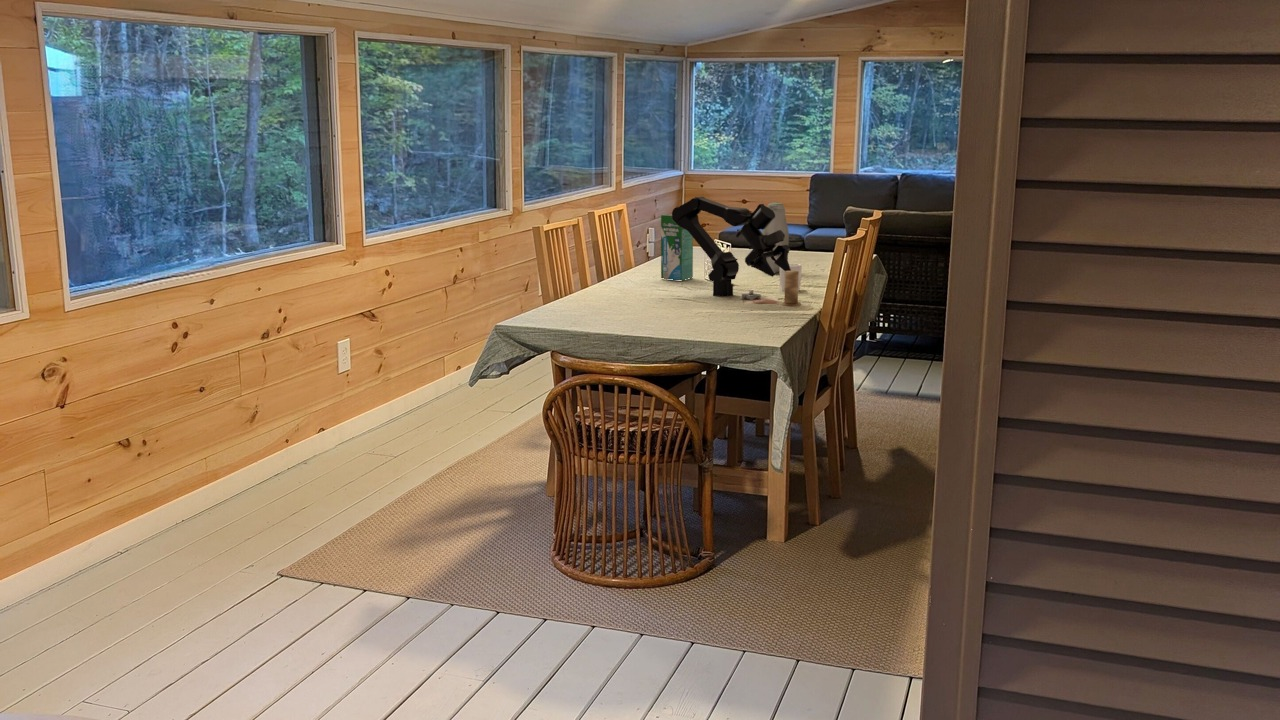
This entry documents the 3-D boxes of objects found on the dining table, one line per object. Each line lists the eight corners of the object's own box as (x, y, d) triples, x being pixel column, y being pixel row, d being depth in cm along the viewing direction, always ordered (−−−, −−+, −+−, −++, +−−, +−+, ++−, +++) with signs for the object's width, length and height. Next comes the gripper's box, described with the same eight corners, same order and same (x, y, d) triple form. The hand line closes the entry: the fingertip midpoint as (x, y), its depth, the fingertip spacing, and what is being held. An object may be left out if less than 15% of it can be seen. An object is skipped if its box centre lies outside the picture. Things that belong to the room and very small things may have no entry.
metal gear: (741, 300, 381) (741, 291, 380) (741, 297, 387) (741, 288, 387) (761, 300, 380) (761, 292, 379) (760, 297, 387) (760, 288, 386)
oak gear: (781, 309, 370) (782, 272, 368) (780, 305, 377) (781, 270, 374) (801, 309, 370) (802, 273, 367) (800, 305, 376) (801, 270, 373)
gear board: (742, 306, 375) (742, 303, 375) (742, 299, 389) (742, 296, 388) (778, 307, 374) (778, 303, 374) (777, 299, 388) (777, 296, 387)
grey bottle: (769, 270, 456) (770, 200, 450) (791, 272, 450) (793, 201, 444) (757, 273, 448) (758, 202, 442) (779, 275, 442) (781, 203, 436)
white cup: (800, 294, 398) (801, 266, 395) (777, 294, 399) (778, 266, 397) (801, 291, 405) (802, 263, 403) (779, 290, 407) (780, 263, 405)
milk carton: (692, 278, 436) (693, 213, 431) (681, 281, 429) (681, 215, 423) (672, 276, 441) (672, 212, 435) (660, 279, 434) (660, 214, 428)
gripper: (752, 225, 367) (779, 261, 362) (786, 220, 380) (812, 255, 375) (733, 247, 374) (759, 283, 369) (766, 242, 387) (792, 276, 382)
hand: (781, 274), depth 373 cm, fingers open, 9 cm apart
